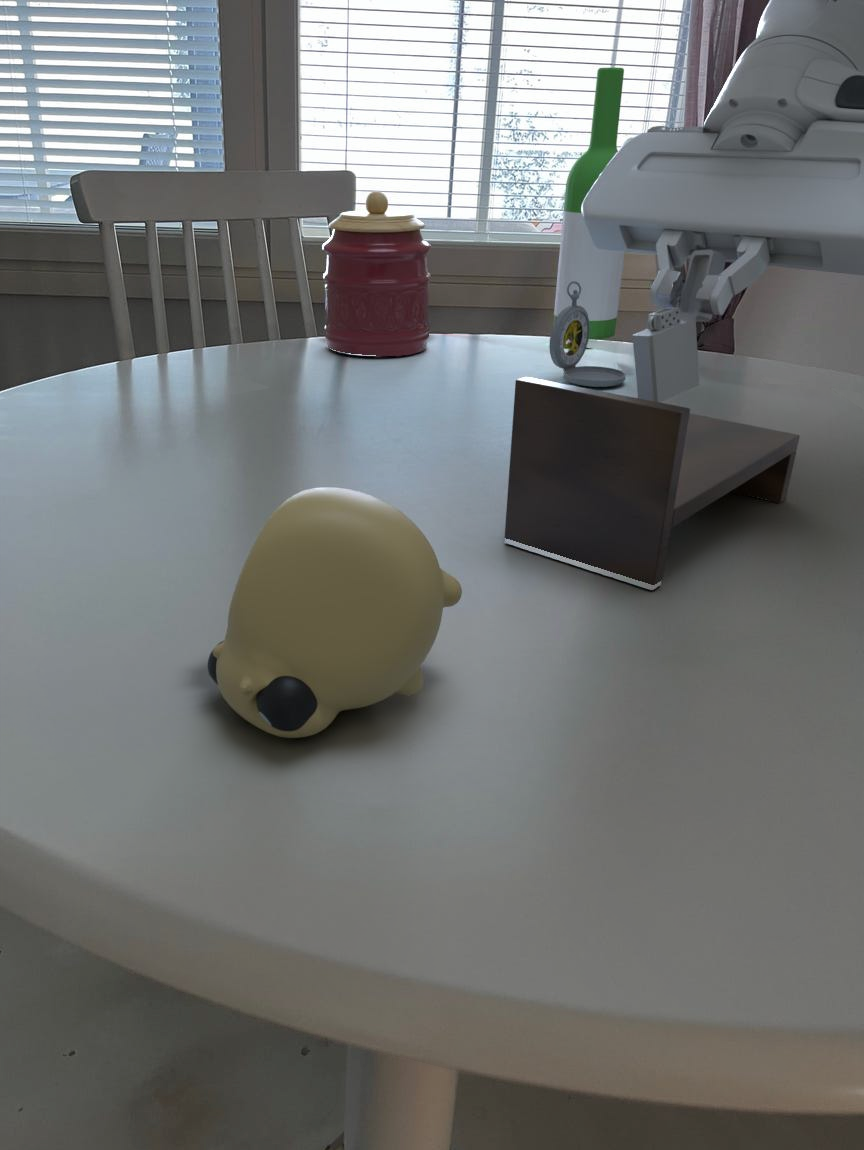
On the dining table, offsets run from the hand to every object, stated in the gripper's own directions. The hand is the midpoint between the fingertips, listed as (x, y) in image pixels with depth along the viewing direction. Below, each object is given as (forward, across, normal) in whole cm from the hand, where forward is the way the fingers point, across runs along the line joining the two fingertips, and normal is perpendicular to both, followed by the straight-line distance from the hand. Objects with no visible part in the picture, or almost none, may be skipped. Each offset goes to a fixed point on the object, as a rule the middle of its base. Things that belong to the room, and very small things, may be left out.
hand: (684, 305), depth 60 cm
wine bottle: (-24, -35, +45) cm, 62 cm away
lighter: (+3, +1, +4) cm, 5 cm away
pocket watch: (-12, -25, +34) cm, 44 cm away
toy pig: (+33, -1, -12) cm, 35 cm away
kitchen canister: (-10, -53, +32) cm, 62 cm away
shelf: (+10, 0, +11) cm, 15 cm away
